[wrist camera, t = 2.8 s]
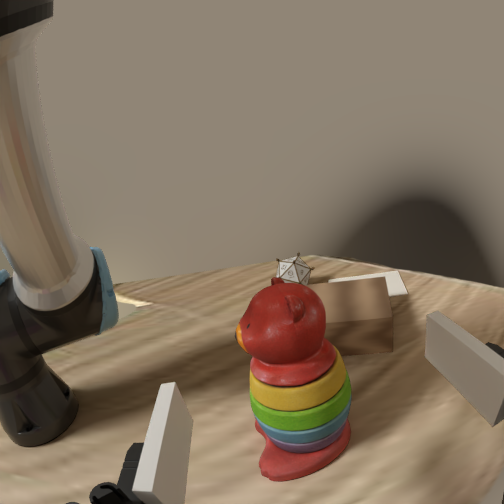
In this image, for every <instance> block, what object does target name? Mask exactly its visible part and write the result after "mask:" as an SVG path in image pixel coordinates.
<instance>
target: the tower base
mask: <svg viewBox="0 0 504 504" xmlns="http://www.w3.org/2000/svg"><path fill="white" fill-rule="evenodd" d="M306 286H307V287H309V288H310V289H312V290H313V291H314V292H315V293H316V294H317V295H318V296H319V297H320V299H321V300H322V303H323V305H324V308H325V312H326V329H325V334H324V338H326V339H327V340H328V341H329V342H330V343H331V344H332V345H333V346H335V347H336V348H337V350H338V351H339V353H340V355H341V356H348V355H362V354H374V353H385V352H393V315H392V310H391V304H390V299H389V294H388V288H387V283H386V279H385V276H384V277H376V278H367V279H358V280H349V281H339V282H329V283H319V284H309V285H306Z"/></svg>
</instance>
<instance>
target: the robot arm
mask: <svg viewBox="0 0 504 504" xmlns="http://www.w3.org/2000/svg"><path fill="white" fill-rule="evenodd" d="M52 20H53V0H0V247H1V249H2V251H3V253H4V254H5V256H6V258H7V259H8V261H9V263H10V264H11V266H12V267H13V269H14V272H13V277H11V278H10V274H9V273H8V272H7V270H5V269H3V270H2V271H0V422H1V424H2V427H3V429H4V430H5V432H6V433H7V435H8V436H9V437H10V439H11V440H12V441H13V442H14V443H16V444H18V445H21V446H36V445H40V444H43V443H46V442H48V441H50V440H52V439H54V438H55V437H57V436H58V435H60V434H61V433H62V432H63V431H64V430H65V429H66V428H67V427H68V426H69V425H70V424H71V423H72V421H73V420H74V418H75V416H76V414H77V410H78V401H77V398H76V397H75V395H74V393H73V392H72V390H71V388H70V387H69V386H68V385H67V384H66V383H65V382H64V381H63V380H62V379H61V378H60V377H59V376H58V375H57V374H56V373H55V372H54V371H53V370H52V369H51V368H50V367H49V366H48V365H47V364H46V362H45V361H44V359H43V357H42V355H41V354H43V353H46V352H49V351H52V350H54V349H57V348H60V347H63V346H65V345H68V344H71V343H74V342H76V341H79V340H82V339H85V338H87V337H90V336H93V335H100V334H101V333H102V332H103V331H106V330H108V329H110V328H112V327H114V326H115V325H116V324H117V322H118V318H119V313H118V306H117V301H116V296H115V293H114V291H113V285H112V280H111V276H110V273H109V269H108V266H107V263H106V259H105V257H104V254H103V252H102V250H101V249H100V248H98V247H94V248H93V247H89V246H88V244H87V243H86V242H85V241H84V240H83V239H82V238H80V237H79V236H77V235H74V234H73V232H72V229H71V226H70V223H69V219H68V216H67V213H66V210H65V207H64V204H63V200H62V196H61V193H60V189H59V186H58V182H57V178H56V174H55V170H54V166H53V162H52V158H51V154H50V149H49V144H48V139H47V135H46V129H45V124H44V118H43V112H42V106H41V101H40V100H41V99H40V92H39V84H38V75H37V66H36V52H35V44H36V41H37V39H38V37H39V36H40V34H41V33H42V32H43V31H44V29H45V28H46V27H47V26H48V25H49V23H50V22H51V21H52ZM425 358H426V359H427V360H428V361H429V362H430V363H431V364H432V365H433V366H434V367H435V368H436V369H437V370H438V371H439V372H440V373H441V374H442V375H443V376H444V377H445V378H446V379H447V380H448V381H449V382H450V383H451V384H452V385H453V386H454V387H455V388H456V389H457V390H458V391H459V392H460V393H461V394H462V395H463V396H464V397H465V398H466V399H467V400H468V401H469V402H470V403H471V405H472V406H473V407H474V408H475V409H476V410H477V411H478V412H479V413H480V414H481V415H482V416H483V417H484V418H485V419H486V420H487V421H488V423H489V424H490V425H491V426H492V427H493V426H495V425H496V424H498V423H499V422H500V421H502V420H503V419H504V350H503V349H502V348H501V347H499V346H498V345H495V344H492V343H489V342H488V343H486V344H484V343H482V342H481V341H480V340H478V339H477V338H475V337H474V336H473V335H471V334H470V333H469V332H467V331H466V330H464V329H463V328H462V327H460V326H459V325H457V324H456V323H455V322H453V321H452V320H450V319H449V318H448V317H446V316H445V315H443V314H442V313H440V312H439V311H436V312H433V313H431V314H428V315H427V323H426V344H425ZM192 427H193V419H192V417H191V415H190V413H189V411H188V409H187V406H186V404H185V402H184V400H183V398H182V396H181V393H180V391H179V389H178V387H177V385H176V382H172V383H165V384H161V386H160V389H159V393H158V396H157V399H156V403H155V406H154V410H153V413H152V417H151V420H150V424H149V428H148V431H147V435H146V438H145V442H144V443H133V445H132V446H131V447H130V448H129V450H128V451H127V454H126V457H125V462H124V463H123V469H122V470H121V473H120V477H119V480H118V483H117V485H116V484H113V483H110V482H104V483H101V484H98V485H97V486H96V487H94V488H93V490H92V491H91V492H90V497H89V498H90V502H91V503H92V504H184V503H185V493H186V482H187V472H188V463H189V453H190V444H191V436H192ZM66 504H79V503H76V502H69V503H66ZM502 504H504V495H503V500H502Z"/></svg>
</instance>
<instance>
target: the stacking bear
mask: <svg viewBox="0 0 504 504" xmlns="http://www.w3.org/2000/svg"><path fill="white" fill-rule="evenodd" d="M271 284H272V286H269V287H266V288H264V289H262V290H261V291H259V292H258V293H257V294H256V295H255V296H254V297H253V298H252V300H251V302H250V304H249V306H248V308H247V310H246V312H245V314H244V315H243V317H242V319H241V320H240V322H239V324H238V326H237V328H236V333H235V338H236V340H237V341H238V343H239V344H240V346H241V347H242V348H243V349H244V350H245V351H246V352H247V353H248V354H250V355H252V356H253V357H252V359H251V363H250V368H251V369H250V401H251V407H252V410H253V412H254V415H255V418H256V422H255V427H256V430H257V431H258V432H259V433H261V434H262V435H263V436H264V438H265V439H266V447H265V449H264V451H263V453H262V455H261V457H260V461H259V467H260V468H261V474H262V475H263V476H264V477H267V478H269V479H270V480H272V481H286V480H291V479H296V478H299V477H302V476H306V475H308V474H310V473H313V472H315V471H317V470H319V469H321V468H322V467H324V466H326V465H327V464H329V463H330V462H331V461H333V460H334V459H335V458H336V457H337V456H338V455H339V454H340V453H341V452H342V451H343V450H344V449H345V447H346V446H347V444H348V442H349V439H350V434H351V430H350V425H349V422H348V419H347V417H348V414H349V410H350V405H351V385H350V380H349V376H348V373H347V370H346V369H345V365H344V362H343V359H342V357H341V355H340V353H339V351H338V350H337V348H336V347H335V346H333V345H332V344H331V343H330V342H329V341H328V340H327V339H326V338H324V334H325V329H326V312H325V308H324V305H323V303H322V300H321V299H320V297H319V296H318V295H317V294H316V293H315V292H314V291H313V290H312V289H310V288H309V287H307V286H304V285H301V284H297V283H285V282H284V281H283V280H282V279H280V278H277V277H273V278H272V279H271Z"/></svg>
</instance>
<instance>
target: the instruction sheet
mask: <svg viewBox="0 0 504 504" xmlns="http://www.w3.org/2000/svg"><path fill="white" fill-rule="evenodd" d="M384 276H385V279H386V283H387V288H388V294H389V297H392V296H399V295H406V294H408V293H407V290H406V288H405V286H404V283H403V281H402V279H401V277H400V275H399V272H398V271H391V272H384V273H377V274H369V275H362V276H354V277H346V278H338V279H329V281H328V283H329V282H339V281H349V280H358V279H367V278H376V277H384Z"/></svg>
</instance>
